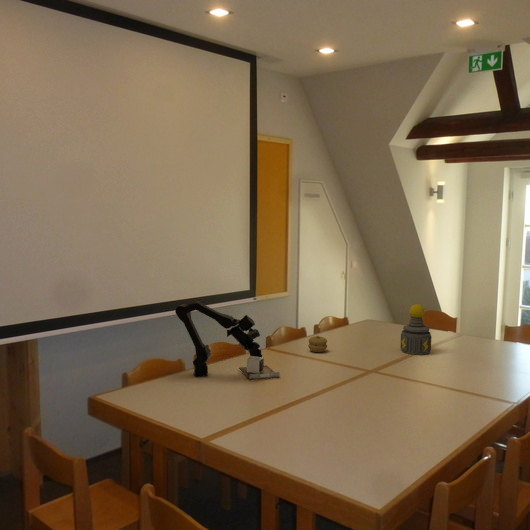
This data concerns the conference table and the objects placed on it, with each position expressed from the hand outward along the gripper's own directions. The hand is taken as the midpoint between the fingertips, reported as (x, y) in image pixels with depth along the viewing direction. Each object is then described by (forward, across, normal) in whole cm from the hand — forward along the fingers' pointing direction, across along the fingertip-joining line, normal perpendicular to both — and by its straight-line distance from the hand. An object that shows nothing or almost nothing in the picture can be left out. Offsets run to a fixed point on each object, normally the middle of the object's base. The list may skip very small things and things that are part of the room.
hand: (259, 355), depth 302 cm
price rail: (+7, -8, +7) cm, 12 cm away
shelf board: (+8, +2, +7) cm, 11 cm away
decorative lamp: (+84, +18, -71) cm, 111 cm away
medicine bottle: (+4, 0, +8) cm, 9 cm away
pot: (+44, +37, -29) cm, 64 cm away
